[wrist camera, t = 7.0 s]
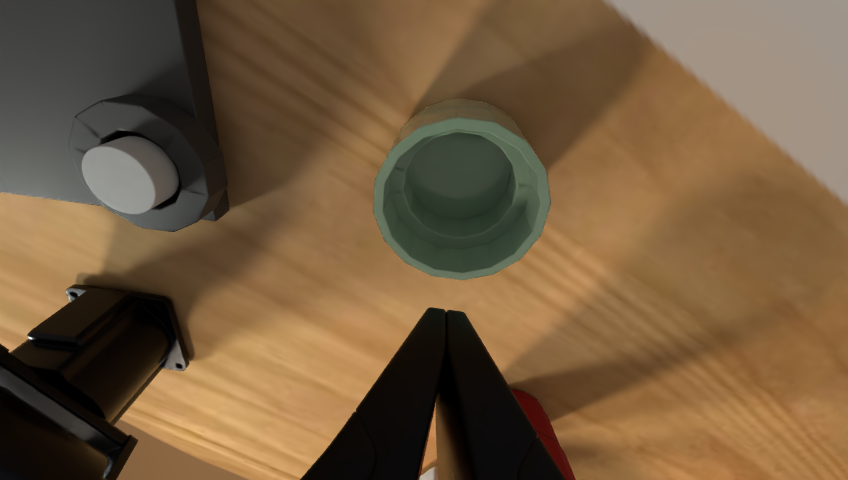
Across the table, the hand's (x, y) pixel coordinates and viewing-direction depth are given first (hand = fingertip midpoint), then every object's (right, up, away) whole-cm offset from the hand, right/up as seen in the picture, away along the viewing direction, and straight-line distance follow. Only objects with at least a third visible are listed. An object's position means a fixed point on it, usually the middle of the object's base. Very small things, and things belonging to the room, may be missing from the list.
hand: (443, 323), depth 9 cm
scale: (-16, +10, +8) cm, 21 cm away
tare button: (-13, +5, +8) cm, 16 cm away
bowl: (+1, +5, +10) cm, 11 cm away
